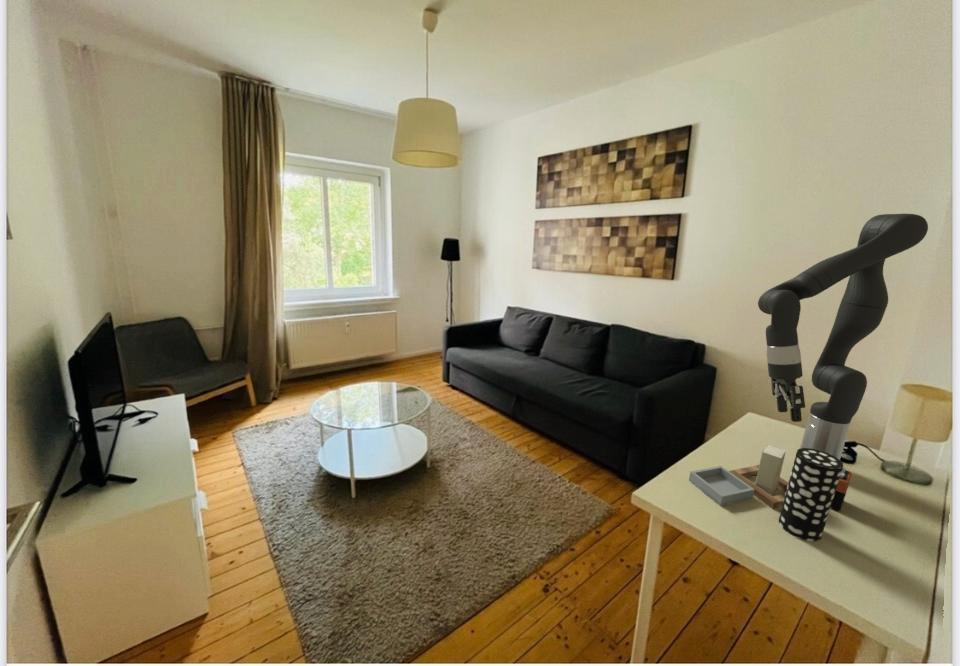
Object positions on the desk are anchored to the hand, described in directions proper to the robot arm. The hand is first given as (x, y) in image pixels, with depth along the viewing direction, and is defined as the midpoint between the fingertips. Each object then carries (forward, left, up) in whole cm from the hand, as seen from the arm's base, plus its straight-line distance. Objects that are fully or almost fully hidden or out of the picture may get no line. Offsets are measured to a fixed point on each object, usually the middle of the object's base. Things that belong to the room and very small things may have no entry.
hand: (789, 416), depth 110 cm
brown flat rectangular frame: (+8, +4, -20) cm, 22 cm away
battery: (-4, +13, -20) cm, 24 cm away
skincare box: (+8, +4, -20) cm, 22 cm away
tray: (+21, +1, -20) cm, 29 cm away
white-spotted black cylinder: (+14, +17, -20) cm, 30 cm away
